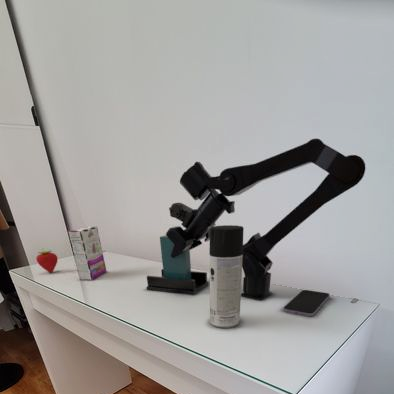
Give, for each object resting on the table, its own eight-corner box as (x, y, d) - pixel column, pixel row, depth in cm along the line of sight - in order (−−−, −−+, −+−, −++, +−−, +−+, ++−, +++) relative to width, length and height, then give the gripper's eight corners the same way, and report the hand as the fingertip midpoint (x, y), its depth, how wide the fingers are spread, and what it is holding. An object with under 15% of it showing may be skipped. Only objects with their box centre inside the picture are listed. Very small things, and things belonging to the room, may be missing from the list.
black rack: (208, 284, 90) (208, 271, 88) (193, 295, 82) (192, 281, 80) (165, 280, 97) (163, 268, 95) (146, 289, 88) (145, 277, 86)
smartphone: (281, 308, 68) (302, 289, 78) (281, 312, 69) (302, 293, 79) (312, 314, 64) (330, 293, 74) (312, 318, 65) (330, 297, 75)
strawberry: (63, 272, 113) (56, 245, 108) (43, 276, 109) (35, 248, 104) (58, 269, 117) (51, 244, 112) (38, 273, 113) (30, 247, 108)
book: (187, 283, 86) (184, 237, 79) (164, 281, 89) (159, 236, 82) (191, 280, 88) (188, 235, 81) (169, 278, 91) (164, 235, 85)
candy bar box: (95, 272, 111) (85, 226, 103) (107, 272, 110) (98, 226, 102) (79, 280, 101) (67, 230, 93) (92, 280, 100) (80, 230, 92)
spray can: (221, 314, 69) (221, 224, 59) (245, 320, 65) (250, 225, 55) (204, 324, 64) (201, 228, 54) (229, 331, 60) (231, 229, 50)
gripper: (201, 189, 82) (171, 230, 91) (169, 191, 67) (137, 240, 77) (227, 219, 82) (195, 257, 92) (200, 227, 68) (165, 271, 78)
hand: (174, 255), depth 85 cm, fingers closed on book, 3 cm apart
